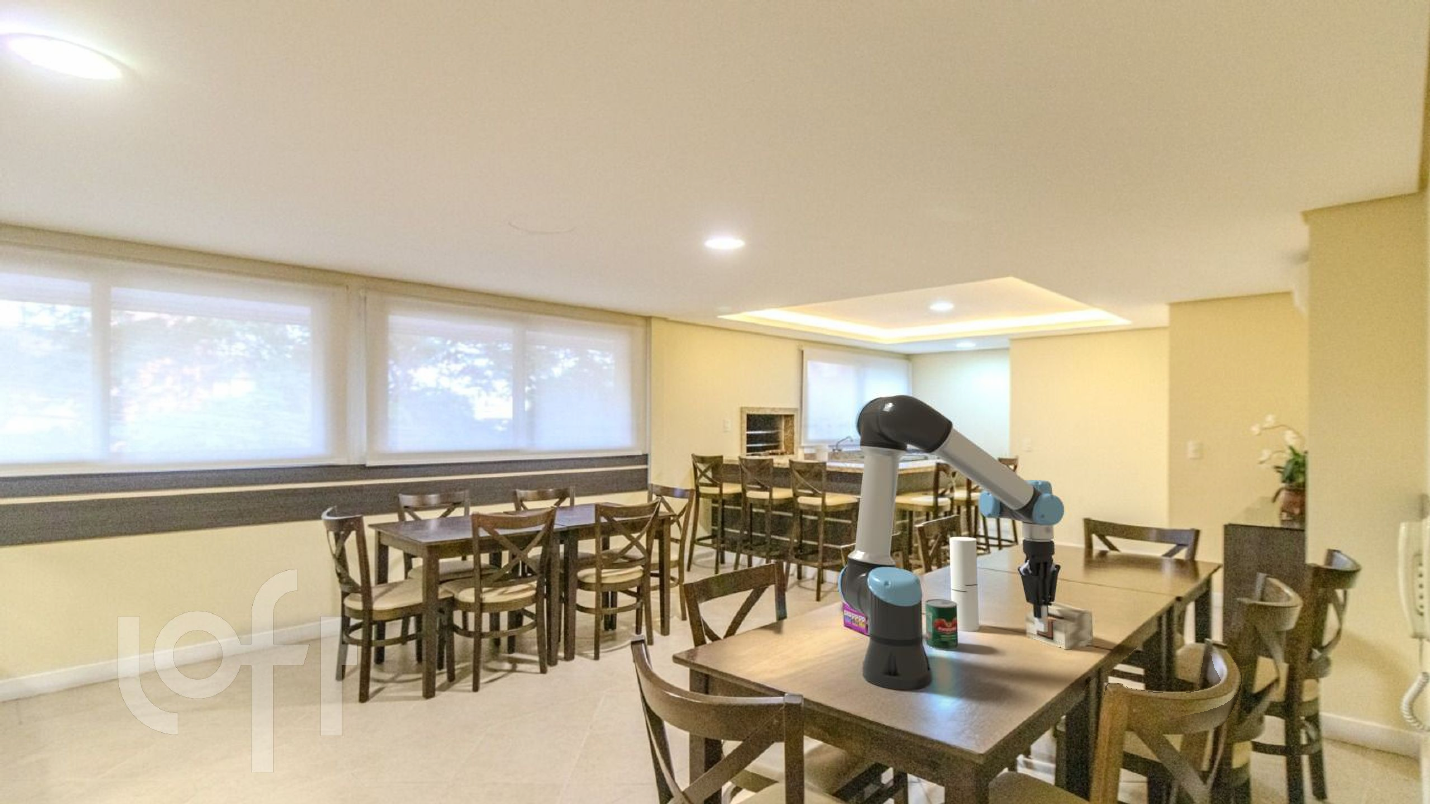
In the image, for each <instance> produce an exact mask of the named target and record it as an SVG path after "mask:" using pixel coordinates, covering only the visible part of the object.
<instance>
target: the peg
mask: <svg viewBox="0 0 1430 804" xmlns="http://www.w3.org/2000/svg"><path fill="white" fill-rule="evenodd" d="M1047 618H1048V631H1047V632H1042V631H1039V630H1037V633H1038V634H1041V635H1044V636H1047V637H1053V635H1052V620H1060V618H1057V617H1054V616H1048V617H1047Z"/></svg>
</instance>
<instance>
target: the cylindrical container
mask: <svg viewBox="0 0 1430 804" xmlns="http://www.w3.org/2000/svg"><path fill="white" fill-rule="evenodd" d="M977 553H978V549H977V538H975V537H967V536H952V537H949V559H950V560H949V562H950V563H949V564H950V565H949V566H950V601H954V602H956V603H957V623H958V624H957V626H958V627H957V628H958V631H962V632H976V631H979V630H980V619H979V618H980V617H979V615H980V614H979V613H980V612H979V587H978V584H979V583H978V558H977V557H978V554H977ZM978 629H979V630H978Z"/></svg>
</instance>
